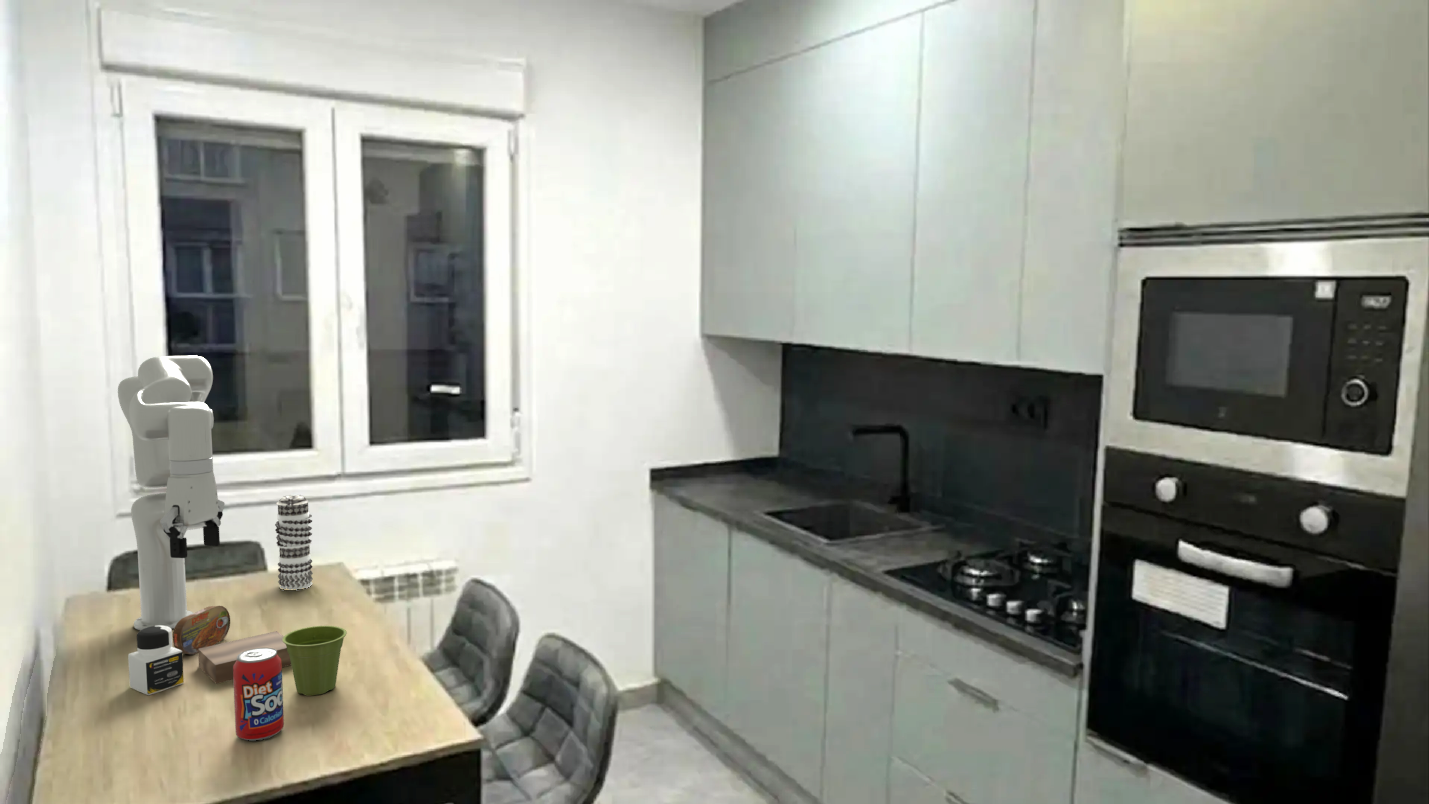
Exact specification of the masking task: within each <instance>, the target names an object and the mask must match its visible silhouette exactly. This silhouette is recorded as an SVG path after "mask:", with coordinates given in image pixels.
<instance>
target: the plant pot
mask: <svg viewBox="0 0 1429 804" xmlns="http://www.w3.org/2000/svg"><path fill="white" fill-rule="evenodd" d="M347 634H348V633H347V630H346V629H345V628H343V627H340V626H335V625H314V626H306V627H303V628H299V629H296V630H292V631H290V632H288V633H287V634H285V635H283V636H284V637H283V639H282V640H283V642H284V643H285V644H286V647H287V651H288V653H289V656H290V661H291V665H290V666H291V669H292V674H293V679H294V685H295V690H296V692H297V693H298V694H303V695H304V696H310V697H311V696H317V695H318V696H319V695H323V694H325V693H327V692H328V691H330V690H331V691H332V690H334V689H335V688H336V683H337V677H338V670H339V664H340V663H339V662H340V657H341V652H342V651H341V650H342V647H343V643H344V639H345V637H346V636H347Z"/></svg>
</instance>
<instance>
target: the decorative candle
mask: <svg viewBox="0 0 1429 804" xmlns="http://www.w3.org/2000/svg"><path fill="white" fill-rule="evenodd" d="M309 502H310V501H309V499H306V497H305V496H304V495H301V494H289V495H285V496H284V495H283V496H282V497H280V498H279V501H277V502H276V505H277V520H278V521H276V522H275V524H274V526H275V527H276V529H275V533H276V534H277V535H276V537H275V538H276V540H277V542H276V546H277V548H279V556H278V563H277V566H278V569H277V571H278V572H279V574H278V575H277V577H278V578H277V579H278V581H277V583H278V584H279V586H280V585H281V586H280V588H283V589H286V588H287V589H289V590H291V589H293V590H294V589H296V591H298V590H297V589H302V588H306V589H309V588H311V587H312V586H313V585H312V584H313V582H312V581H313V580H314V579H313V574H314V573H313V570H311V569H313V566H312V563H313V560H312V559H311V556H312V555H311V550H310V548H311V547H310V546H311V544H312V539H310V537H311V536H312V535H313V533H312V532H311V530H312V529H313V528H312V526H310V524H311V523H312V522H313V520H312V519H311V518H312V514H311V513H310V511H309ZM311 585H312V586H311ZM310 586H311V587H310ZM308 587H309V588H308Z"/></svg>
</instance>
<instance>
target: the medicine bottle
mask: <svg viewBox="0 0 1429 804" xmlns="http://www.w3.org/2000/svg"><path fill="white" fill-rule="evenodd" d="M136 644H137V645H136V646H137V651H134V652H131V653H130V652H129V653H128V654H127V657H128V660H127V661H128V678H129V687H130V688H131V689H133V690H135V691H137V692H140V693H142V694H144V695H147V696H151V695H154V694H157V693H160V692H162V691H166V690H168V689H172V688H175V687H178V686H182V685H183V684H184V682H185V680H184V679H185V678H184V661H183V657H184V656H183V654H182V651H181V650H179V649H176V648H174V646H173V631H172V629H171V628H170V627H168V626H162V625H158V626H151V627H147V628H144V629H142V630H138V632H137V633H136Z"/></svg>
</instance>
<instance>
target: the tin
mask: <svg viewBox="0 0 1429 804" xmlns="http://www.w3.org/2000/svg"><path fill="white" fill-rule="evenodd" d="M230 627H231V616H230V613H229V611H228V609H227V608H226V606H225V607H224V606H223V605H212V606H211V605H209V606H206V607H204V608H202V609H200V610H198V611H195V612H193V614H191V615H189V616H186V617H184V618H182V619H181V620H180V621H179V622H178V623H177V624H176V626H175V628H173V631H172V645H173V647H174V648H176V649H179V650H181V651H182V655H192V656H193V655H198V649H199V648H204V647H208V646H213V645H217V644H220V643H221V642H222V641H223V640H224V639H225V638H226V637H227V635H228V633H229V632H230V631H229V630H230Z"/></svg>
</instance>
